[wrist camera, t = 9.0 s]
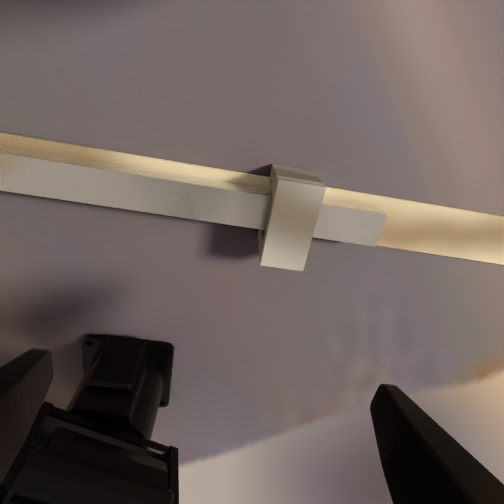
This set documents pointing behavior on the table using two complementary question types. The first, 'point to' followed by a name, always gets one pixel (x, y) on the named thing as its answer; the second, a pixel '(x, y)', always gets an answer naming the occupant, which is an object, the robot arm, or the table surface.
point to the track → (398, 211)
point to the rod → (172, 194)
